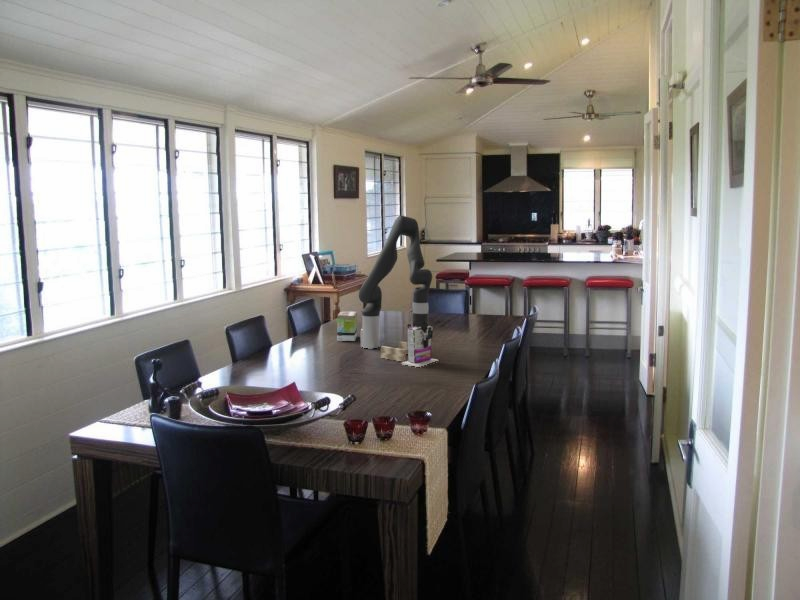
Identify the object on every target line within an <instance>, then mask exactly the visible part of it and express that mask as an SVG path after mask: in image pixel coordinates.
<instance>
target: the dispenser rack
mask: <svg viewBox="0 0 800 600" xmlns="http://www.w3.org/2000/svg"><path fill="white" fill-rule="evenodd" d="M406 354H408V341H407V342H406V341H398V347H392V346H386V345H381V346H380V359H382V358H385V359H384V360H387V359H390V360H389V361H393V360H396V361H395V362H398V361H402V362H405V361H407V360H406V356H407V355H406ZM402 362H401V363H402Z"/></svg>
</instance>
